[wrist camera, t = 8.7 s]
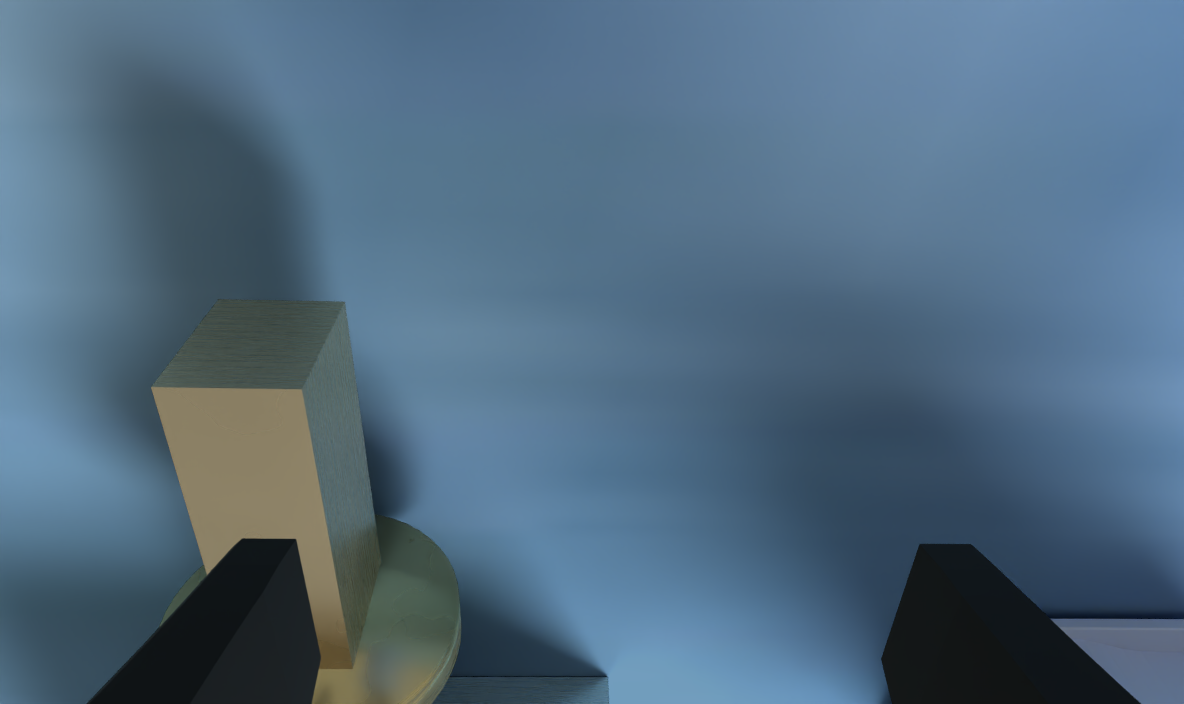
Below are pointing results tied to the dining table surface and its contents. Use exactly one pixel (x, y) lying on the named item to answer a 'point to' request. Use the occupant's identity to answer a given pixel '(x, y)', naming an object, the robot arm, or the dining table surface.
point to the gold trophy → (307, 493)
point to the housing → (524, 690)
